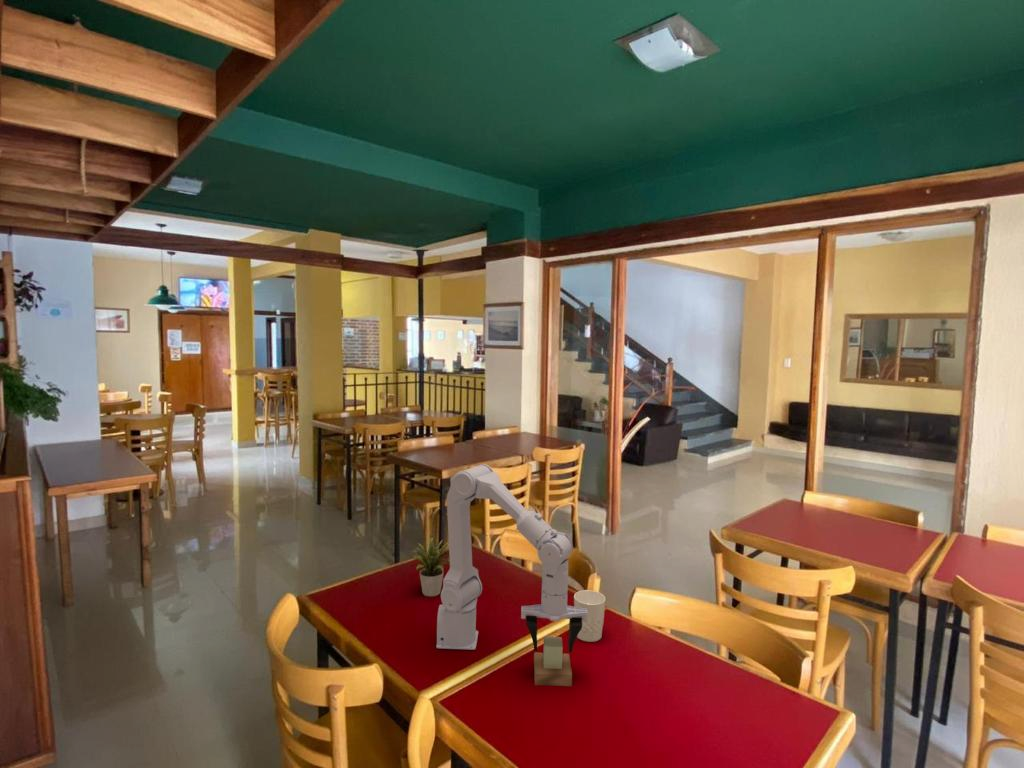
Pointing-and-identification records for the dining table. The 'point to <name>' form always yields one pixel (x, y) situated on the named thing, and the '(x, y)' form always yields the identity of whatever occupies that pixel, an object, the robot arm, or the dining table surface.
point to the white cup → (591, 614)
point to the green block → (552, 652)
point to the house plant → (431, 568)
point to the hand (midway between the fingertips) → (552, 649)
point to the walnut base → (552, 672)
